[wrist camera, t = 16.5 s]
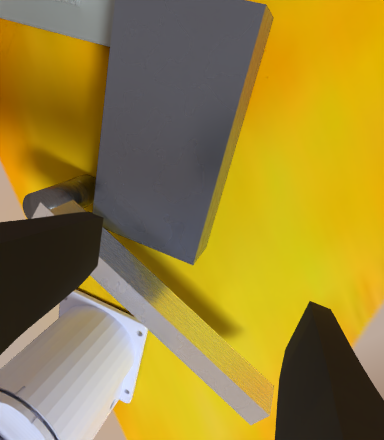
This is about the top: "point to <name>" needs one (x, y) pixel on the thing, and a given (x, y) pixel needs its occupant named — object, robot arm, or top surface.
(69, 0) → the grey rectangular block
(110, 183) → the grey piece
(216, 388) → the steel lever
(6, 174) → the top surface
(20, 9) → the rubber mat
